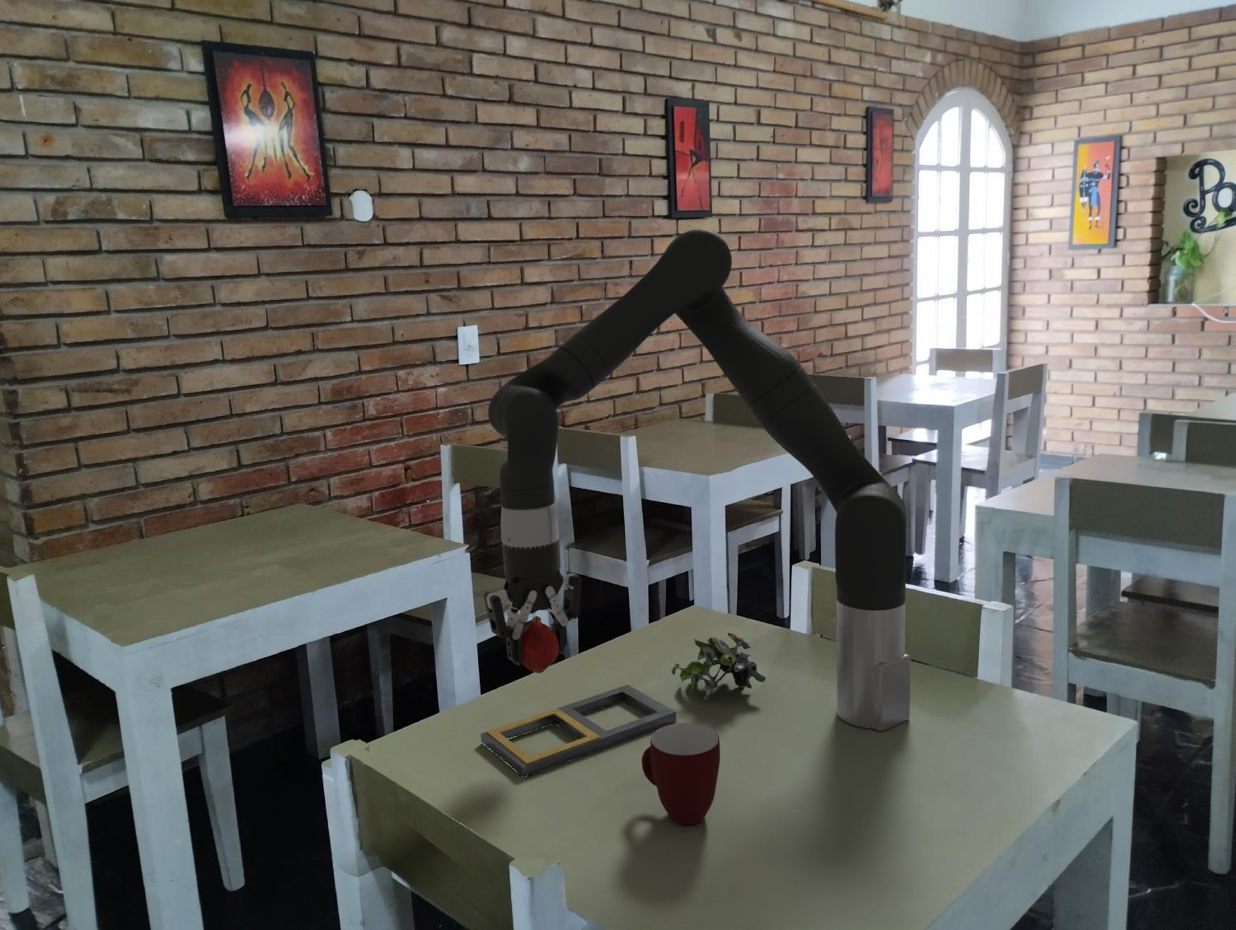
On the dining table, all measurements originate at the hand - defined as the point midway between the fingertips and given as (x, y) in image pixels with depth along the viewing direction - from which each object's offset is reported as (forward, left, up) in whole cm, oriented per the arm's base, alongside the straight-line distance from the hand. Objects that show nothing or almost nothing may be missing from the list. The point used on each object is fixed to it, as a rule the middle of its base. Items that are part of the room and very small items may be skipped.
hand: (538, 656), depth 130 cm
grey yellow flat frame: (0, -6, -13) cm, 14 cm away
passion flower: (-3, -29, -13) cm, 32 cm away
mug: (-25, -4, -13) cm, 29 cm away
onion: (0, 0, -3) cm, 3 cm away
